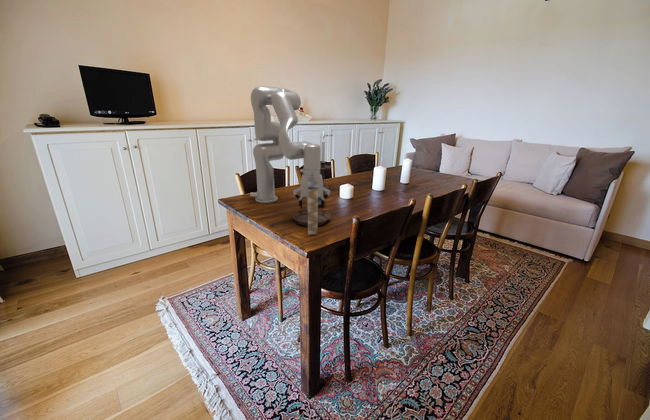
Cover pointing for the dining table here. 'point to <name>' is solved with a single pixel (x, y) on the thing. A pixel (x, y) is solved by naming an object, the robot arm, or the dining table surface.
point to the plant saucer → (303, 217)
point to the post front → (312, 208)
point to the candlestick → (323, 166)
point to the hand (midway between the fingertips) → (311, 207)
